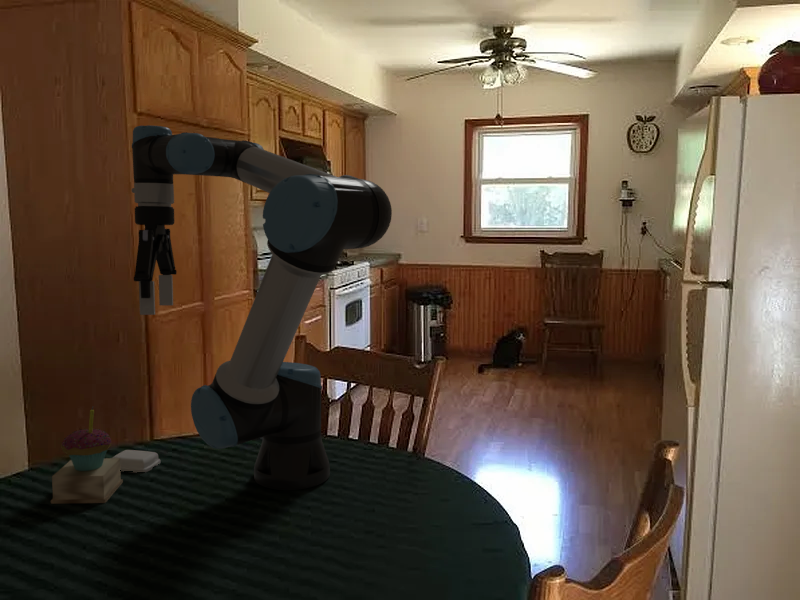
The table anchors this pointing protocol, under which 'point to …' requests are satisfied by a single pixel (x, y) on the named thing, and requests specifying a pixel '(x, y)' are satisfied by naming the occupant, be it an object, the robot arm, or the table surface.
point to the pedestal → (86, 483)
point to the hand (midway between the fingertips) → (157, 309)
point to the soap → (137, 460)
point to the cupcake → (87, 447)
